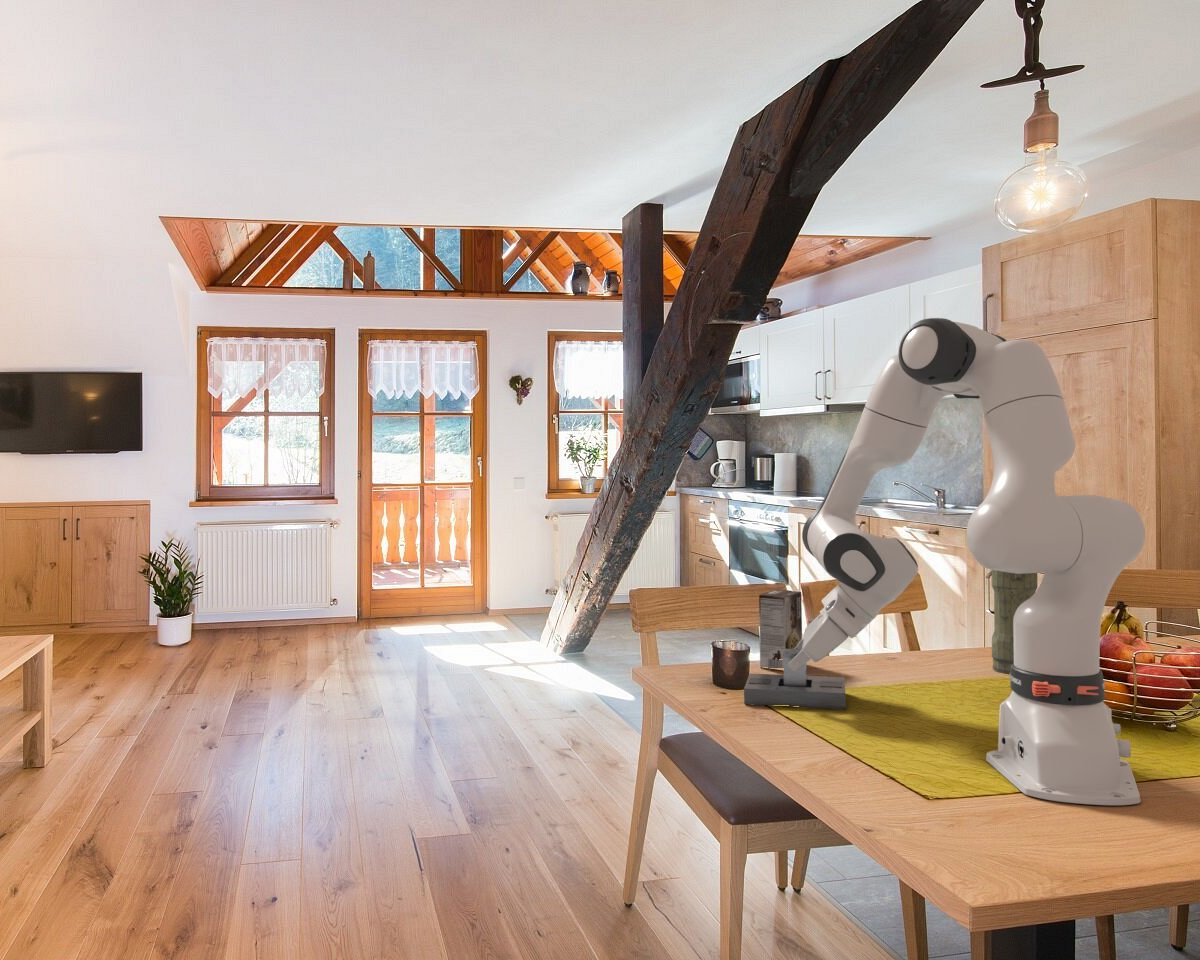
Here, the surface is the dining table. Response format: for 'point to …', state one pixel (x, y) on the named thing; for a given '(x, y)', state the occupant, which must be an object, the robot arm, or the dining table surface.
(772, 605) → the coffee box
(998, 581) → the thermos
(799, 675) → the light grey block
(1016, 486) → the robot arm
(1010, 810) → the dining table surface
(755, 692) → the grey slotted base
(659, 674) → the dining table surface
